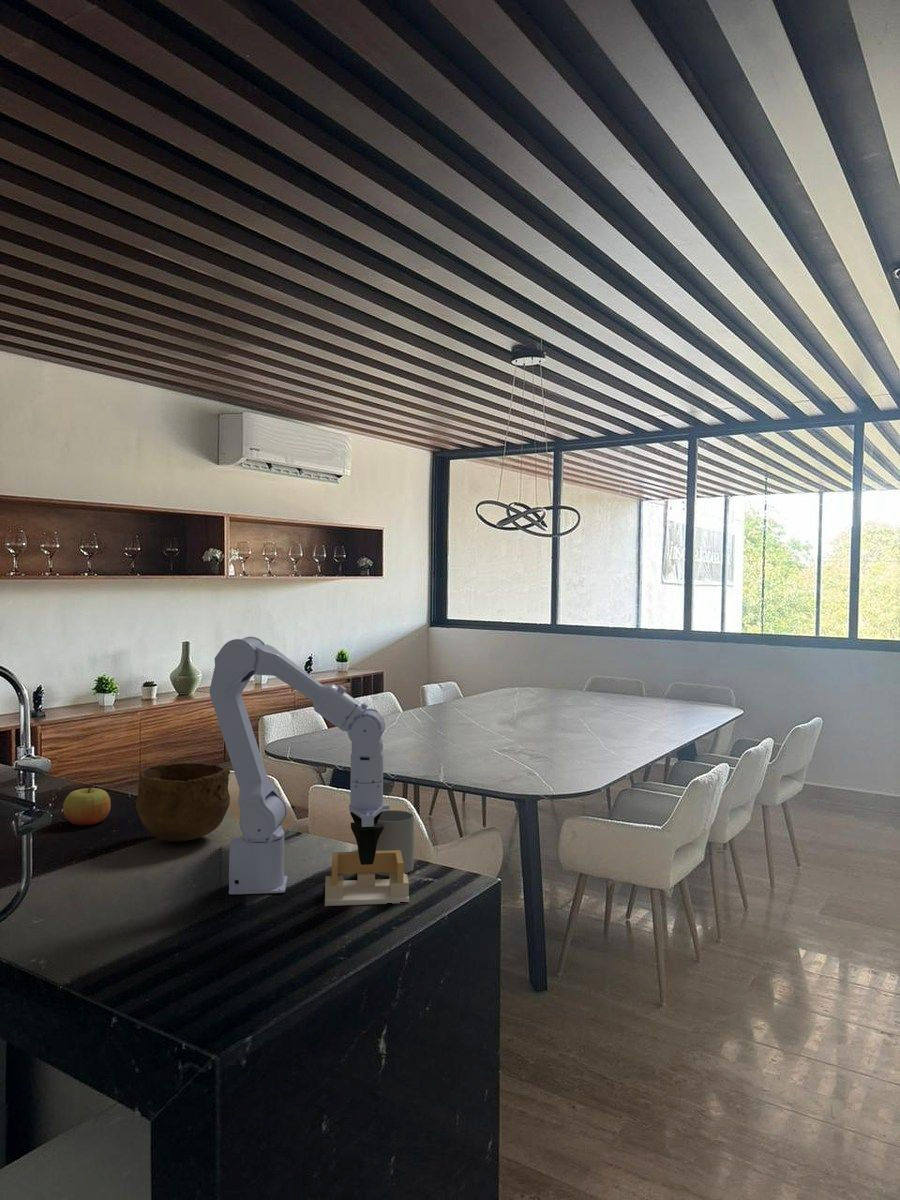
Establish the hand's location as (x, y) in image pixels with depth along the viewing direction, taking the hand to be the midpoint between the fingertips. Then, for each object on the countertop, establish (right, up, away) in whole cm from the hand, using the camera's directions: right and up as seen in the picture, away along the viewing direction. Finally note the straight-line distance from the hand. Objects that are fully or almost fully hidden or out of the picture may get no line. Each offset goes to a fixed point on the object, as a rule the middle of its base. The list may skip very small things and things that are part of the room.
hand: (366, 857), depth 151 cm
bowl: (-41, -5, +29) cm, 51 cm away
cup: (+4, -6, +12) cm, 13 cm away
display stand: (0, -6, -2) cm, 6 cm away
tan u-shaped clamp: (0, -3, -3) cm, 4 cm away
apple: (-67, -5, +42) cm, 79 cm away
